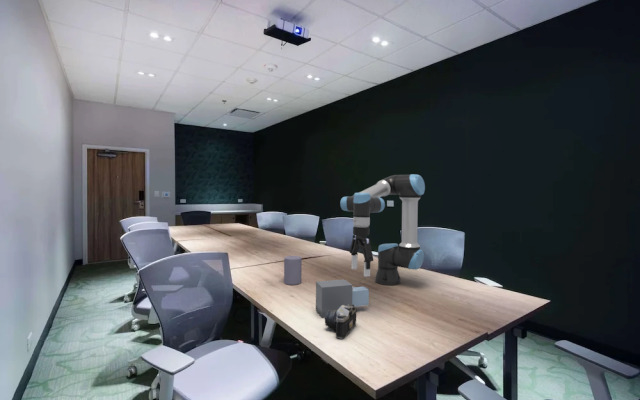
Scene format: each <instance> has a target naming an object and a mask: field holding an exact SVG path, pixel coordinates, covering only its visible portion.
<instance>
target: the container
mask: <svg viewBox="0 0 640 400" xmlns="http://www.w3.org/2000/svg"><path fill="white" fill-rule="evenodd" d="M283 259H284V260H283V263H284V264H283V266H284V267H283V268H284V269H283V284H285V285H288V286H296V285H300V284H302V271H303V270H302V268H303V265H302V264H303V263H302V259H303V257H302V256H300V255H299V256H298V255H287V256H284V258H283Z"/></svg>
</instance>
